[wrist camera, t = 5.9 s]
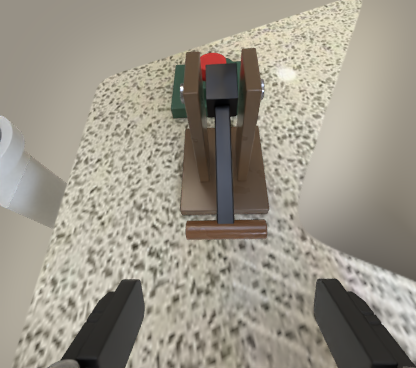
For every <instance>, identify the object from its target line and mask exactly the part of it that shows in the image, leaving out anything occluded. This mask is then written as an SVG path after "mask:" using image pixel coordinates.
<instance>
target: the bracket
mask: <svg viewBox="0 0 416 368" xmlns="http://www.w3.org/2000/svg"><path fill="white" fill-rule="evenodd" d="M263 97H264V80H263V79H261V78H260V72H259V66H258V59H257V53H256V48H247V49H242V53H241V68H240V83H239V99H238V114H237V127H231V145H232V171H233V196H234V214H259V213H268V211H269V203H268V195H267V188H266V180H265V173H264V165H263V158H262V150H261V143H260V135H259V128H258V126H256V124H257V118H258V112H259V107H260V101H261V100H262V99H263ZM180 98H181V102H182V103H183V104H185V108H186V113H187V118H188V123H189V128H190V129H186V130H185V145H184V160H183V175H182V190H181V205H180V212H181V214H182V215H207V214H217V205H216V159H215V128H207V120H206V110H205V100H204V90H203V80H202V70H201V60H200V52H187V53H186V60H185V72H184V83H181V84H180Z"/></svg>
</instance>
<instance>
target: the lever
mask: <svg viewBox="0 0 416 368" xmlns="http://www.w3.org/2000/svg"><path fill="white" fill-rule="evenodd" d="M205 72H206V105H207V113H208V117H215V159H216V205H217V220H205V221H187V222H186V238H187V240H213V239H266V237H267V224H266V221H265V220H264V219H262V220H234V196H233V171H232V145H231V120H230V117H232V116H236V115H237V106H238V79H237V63H225V64H209V65H205Z"/></svg>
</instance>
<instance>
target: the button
mask: <svg viewBox="0 0 416 368" xmlns="http://www.w3.org/2000/svg"><path fill="white" fill-rule="evenodd" d="M200 60H201V70H202V80H203V81H206V72H205V65H209V64H225V63H226V59H225V57H224V56H223V55H221V54H218V53H208V54H205V55H203V56H201V57H200Z"/></svg>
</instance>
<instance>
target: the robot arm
mask: <svg viewBox="0 0 416 368" xmlns="http://www.w3.org/2000/svg"><path fill="white" fill-rule="evenodd" d="M1 136H2V132H1V129H0V141H1ZM144 311H145V306H144V299H143V293H142V286H141V281H140V280H139V279H124V280H122V281H121V282H120V284H119V286H118V287H117V289H116V291H115V292H109V293H107V294H106V295H105V296H104V297H103V298H102V299H101V300H99V302H98V303H97V305H96V306H95V308H94V310H93V311H92V313H91V314H90V316H89V317H88V319H87V321H86V323H84V325H83V326H82V328H81V330H80V331H79V333H78V334H77V336H76V337H75V339H74V340H73V342H72V343H71V345H70V346H69V348H68V349H67V351H66V353H65V354H64V356H63V357H62V359H61V360H60V361H58V362H56V363H54V364H52V365H50V366H49V367H48V368H125V367H126V364H127V361H128V359H129V356H130V353H131V351H132V348H133V345H134V343H135V340H136V337H137V335H138V332H139V329H140V327H141V324H142V321H143V318H144ZM314 315H315V319H316V322H317V324H318V326H319V328H320V330H321V332H322V334H323V337H324V339H325V341H326V343H327V345H328V347H329V349H330V352H331V354H332V356H333V358H334V360H335V362H336V364H337V366H338V368H416V366H415V365H414V364H413V362H412V361H411V360H410V359H409V357H408V356H407V355H406V354H405V352H404V351H403V350H402V348H401V347H400V346H399V345H398V343H397V342H396V341H395V339H394V338H393V337H392V336H391V334H390V333H389V332H388V330H387V329H386V328H385V327H384V325H382V324H381V321H380V320H379V319H378V318H377V316H376V315H374V313H373V311H372V310H371V309H370V307H369V306H368V305H367V304H366V302H365V301H364V300H362V299H361V298H360V297H359V296H357V295H356V294H355V293H353V292H347V291H346V290H345V289H344V287H343V286H342V285H341V283H340V282H339V281H338V280H337V279H318V280H317V282H316V290H315V299H314Z"/></svg>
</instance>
